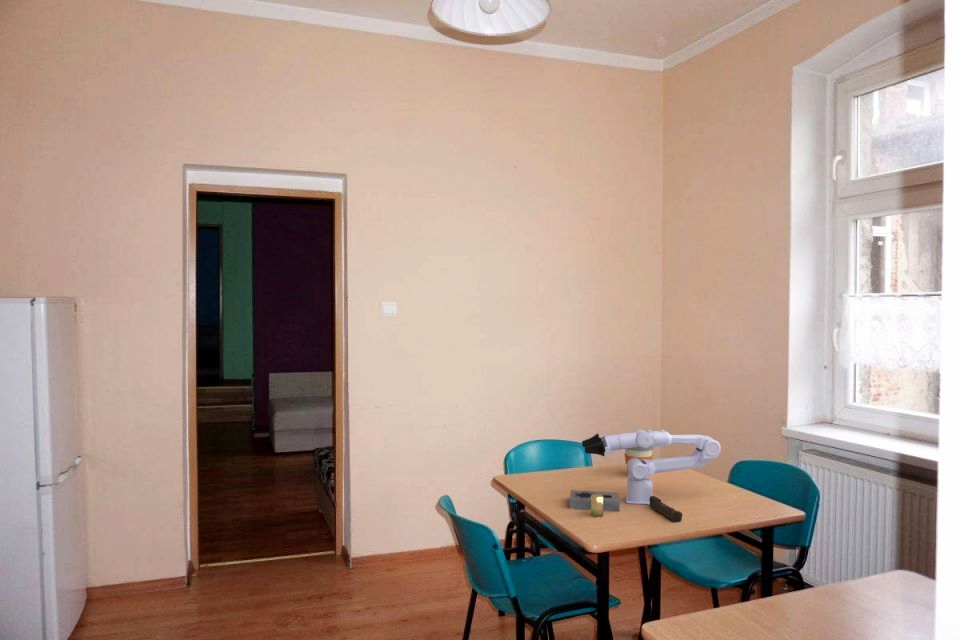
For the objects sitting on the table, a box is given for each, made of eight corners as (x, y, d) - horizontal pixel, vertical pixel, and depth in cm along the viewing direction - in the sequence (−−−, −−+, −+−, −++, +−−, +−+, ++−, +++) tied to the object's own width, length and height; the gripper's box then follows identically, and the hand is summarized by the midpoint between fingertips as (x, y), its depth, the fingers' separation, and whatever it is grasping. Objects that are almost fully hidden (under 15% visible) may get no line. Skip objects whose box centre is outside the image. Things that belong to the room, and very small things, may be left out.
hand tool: (682, 522, 222) (683, 509, 222) (672, 523, 221) (672, 510, 221) (656, 506, 240) (657, 494, 240) (647, 506, 239) (647, 494, 239)
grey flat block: (618, 501, 245) (618, 492, 245) (619, 511, 233) (619, 501, 233) (570, 499, 248) (570, 490, 248) (569, 508, 236) (569, 499, 236)
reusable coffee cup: (647, 471, 290) (647, 438, 290) (657, 478, 278) (657, 444, 277) (620, 472, 289) (620, 438, 289) (628, 479, 277) (628, 444, 276)
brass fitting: (603, 513, 230) (603, 494, 230) (603, 517, 226) (603, 498, 226) (590, 513, 231) (591, 493, 231) (590, 517, 227) (590, 497, 227)
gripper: (613, 426, 252) (579, 431, 253) (620, 437, 238) (584, 442, 238) (616, 443, 253) (582, 448, 254) (623, 455, 239) (587, 461, 239)
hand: (583, 447), depth 246 cm, fingers open, 7 cm apart
